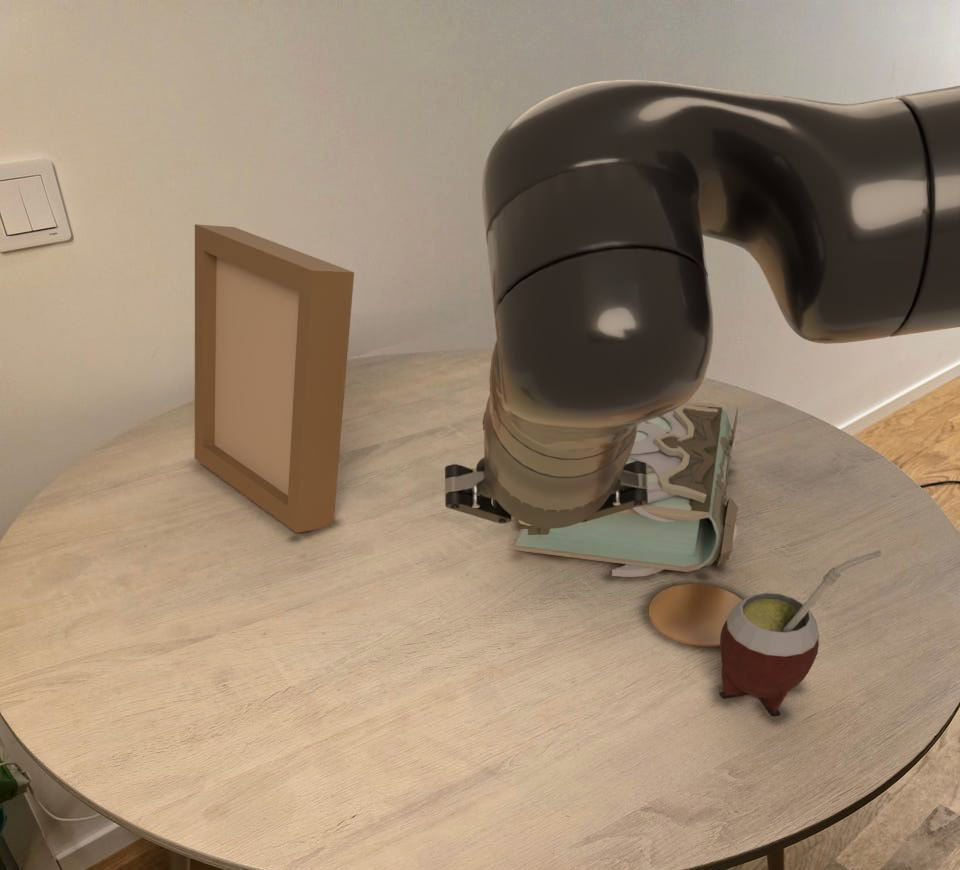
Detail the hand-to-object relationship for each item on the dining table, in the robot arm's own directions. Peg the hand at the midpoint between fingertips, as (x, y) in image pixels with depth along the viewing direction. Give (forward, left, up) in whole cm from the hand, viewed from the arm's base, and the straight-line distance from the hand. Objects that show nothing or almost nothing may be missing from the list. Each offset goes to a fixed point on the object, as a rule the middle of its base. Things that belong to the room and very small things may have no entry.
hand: (538, 520), depth 63 cm
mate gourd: (-18, +2, -15) cm, 24 cm away
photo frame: (+24, -35, -15) cm, 45 cm away
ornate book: (-11, -28, -15) cm, 34 cm away
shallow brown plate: (-15, -8, -15) cm, 23 cm away
